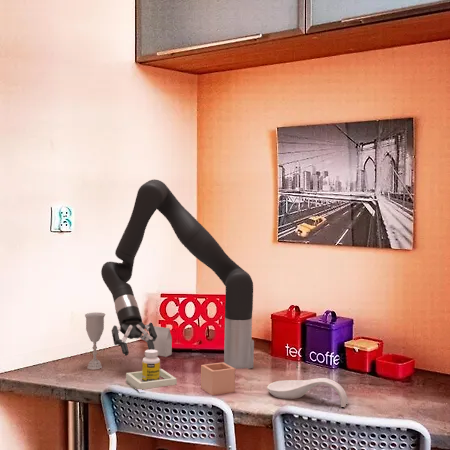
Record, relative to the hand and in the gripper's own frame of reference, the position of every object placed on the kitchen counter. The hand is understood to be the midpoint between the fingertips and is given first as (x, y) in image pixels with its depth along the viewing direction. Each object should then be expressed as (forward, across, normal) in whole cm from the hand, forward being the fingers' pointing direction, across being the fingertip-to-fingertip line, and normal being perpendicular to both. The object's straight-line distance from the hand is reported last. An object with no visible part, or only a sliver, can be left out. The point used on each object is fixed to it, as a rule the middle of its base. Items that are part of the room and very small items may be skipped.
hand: (139, 353), depth 218 cm
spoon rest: (+36, +35, -25) cm, 56 cm away
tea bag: (-11, +18, +22) cm, 30 cm away
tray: (+12, 0, -1) cm, 12 cm away
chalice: (-6, -10, +17) cm, 21 cm away
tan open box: (+24, +15, -13) cm, 31 cm away
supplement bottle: (+12, 0, -2) cm, 12 cm away
